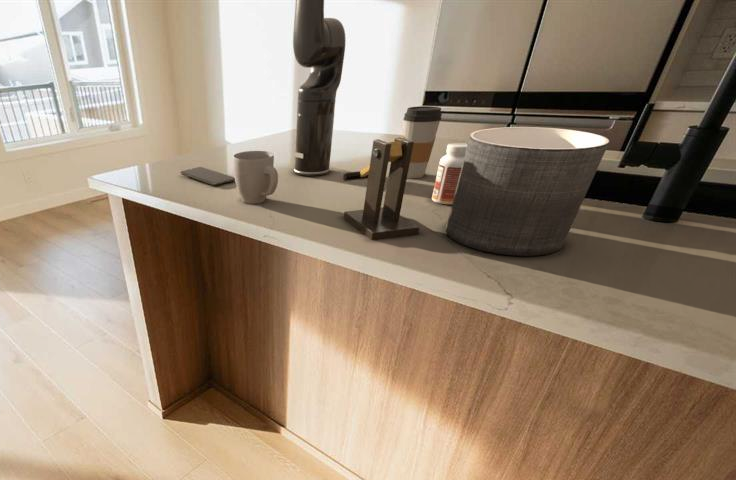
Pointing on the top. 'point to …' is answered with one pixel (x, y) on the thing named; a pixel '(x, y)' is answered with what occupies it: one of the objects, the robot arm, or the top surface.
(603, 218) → the top surface
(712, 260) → the top surface
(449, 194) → the pill bottle
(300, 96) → the robot arm
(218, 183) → the smartphone
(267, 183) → the mug
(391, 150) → the lever
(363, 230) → the lever stand
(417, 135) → the coffee cup
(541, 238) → the planter
